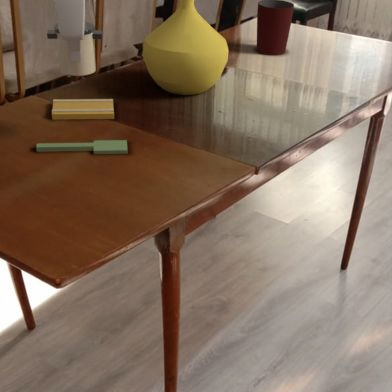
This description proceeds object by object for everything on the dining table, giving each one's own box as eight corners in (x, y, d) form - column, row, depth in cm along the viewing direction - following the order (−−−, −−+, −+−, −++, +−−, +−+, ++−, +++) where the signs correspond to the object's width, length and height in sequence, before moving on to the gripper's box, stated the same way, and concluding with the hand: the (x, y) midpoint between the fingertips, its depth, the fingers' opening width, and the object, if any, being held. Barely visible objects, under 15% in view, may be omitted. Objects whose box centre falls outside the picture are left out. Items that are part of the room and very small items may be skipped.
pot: (50, 76, 108) (44, 24, 103) (52, 63, 113) (46, 13, 108) (104, 76, 109) (101, 24, 104) (103, 63, 114) (100, 14, 109)
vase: (126, 84, 139) (123, -14, 127) (189, 69, 149) (191, -23, 136) (179, 108, 129) (181, 5, 117) (243, 91, 138) (251, -7, 126)
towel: (52, 120, 122) (51, 112, 121) (54, 105, 128) (53, 98, 127) (114, 119, 124) (113, 112, 123) (113, 104, 130) (112, 97, 129)
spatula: (36, 155, 110) (35, 150, 109) (37, 145, 113) (37, 140, 113) (127, 154, 112) (127, 148, 111) (126, 144, 115) (126, 138, 114)
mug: (261, 41, 168) (266, -5, 161) (293, 46, 166) (299, -1, 159) (249, 53, 159) (254, 5, 152) (283, 58, 157) (289, 10, 150)
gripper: (51, -51, 107) (60, 36, 117) (44, -26, 92) (55, 72, 101) (89, -50, 108) (94, 36, 117) (88, -25, 93) (94, 72, 102)
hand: (76, 53), depth 109 cm, fingers closed on pot, 6 cm apart
